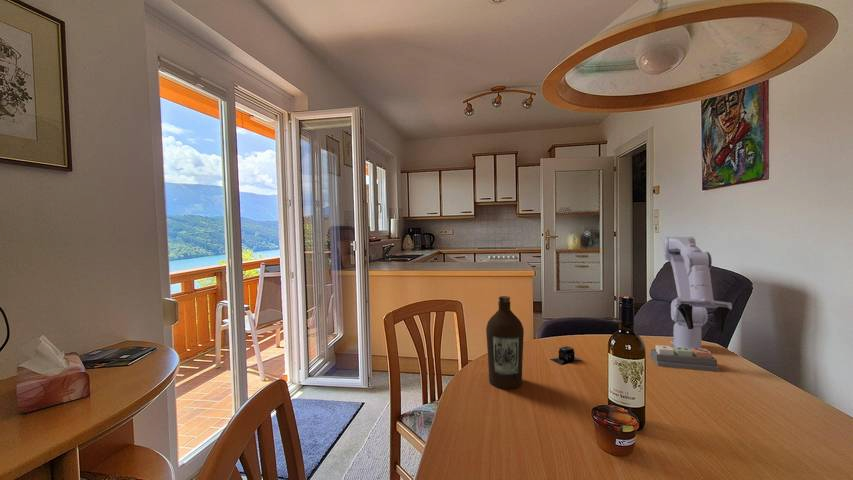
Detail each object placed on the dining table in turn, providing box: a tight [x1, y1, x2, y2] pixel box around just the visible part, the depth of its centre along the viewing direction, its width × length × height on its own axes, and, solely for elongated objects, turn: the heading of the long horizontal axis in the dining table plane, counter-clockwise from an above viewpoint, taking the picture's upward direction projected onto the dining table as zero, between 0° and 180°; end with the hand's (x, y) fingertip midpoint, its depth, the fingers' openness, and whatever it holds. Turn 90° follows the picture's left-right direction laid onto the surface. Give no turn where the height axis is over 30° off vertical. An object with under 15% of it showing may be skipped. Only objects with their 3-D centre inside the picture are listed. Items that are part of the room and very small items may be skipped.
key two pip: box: [672, 345, 693, 357], centre depth 111 cm, size 4×4×2 cm
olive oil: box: [485, 295, 525, 390], centre depth 100 cm, size 11×11×25 cm
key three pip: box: [691, 348, 713, 359], centre depth 109 cm, size 4×4×2 cm
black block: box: [549, 346, 584, 366], centre depth 116 cm, size 12×7×5 cm, turn 111°
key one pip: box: [655, 344, 674, 356], centre depth 112 cm, size 4×4×2 cm
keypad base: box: [649, 348, 720, 372], centre depth 111 cm, size 8×16×3 cm, turn 72°
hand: (705, 330), depth 107 cm, fingers open, 7 cm apart
